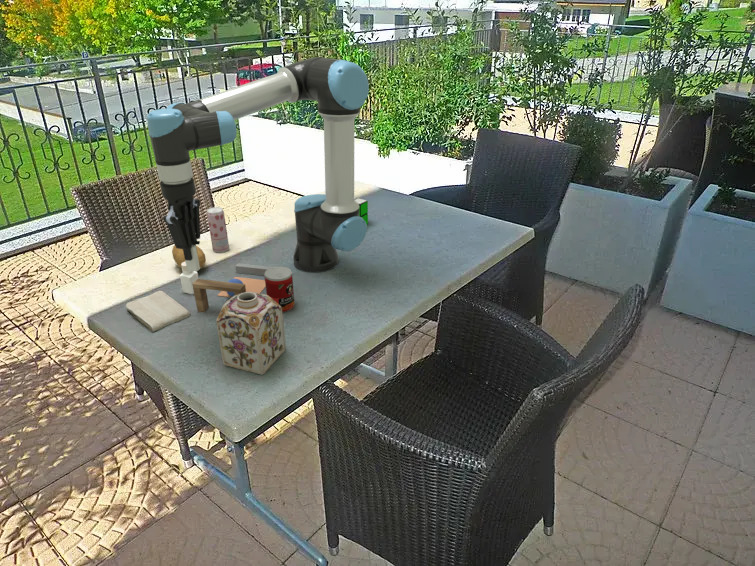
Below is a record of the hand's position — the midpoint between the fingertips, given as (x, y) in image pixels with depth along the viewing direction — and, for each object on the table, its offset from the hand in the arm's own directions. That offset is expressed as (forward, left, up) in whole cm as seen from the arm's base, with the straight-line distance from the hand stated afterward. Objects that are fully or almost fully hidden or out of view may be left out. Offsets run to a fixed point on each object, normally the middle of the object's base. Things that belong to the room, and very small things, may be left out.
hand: (193, 269), depth 137 cm
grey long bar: (0, -34, -19) cm, 39 cm away
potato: (+23, -33, -19) cm, 45 cm away
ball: (+1, -20, -16) cm, 26 cm away
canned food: (-15, -17, -19) cm, 30 cm away
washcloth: (+18, -6, -20) cm, 28 cm away
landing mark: (0, -24, -19) cm, 31 cm away
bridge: (0, -10, -19) cm, 22 cm away
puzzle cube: (-19, -79, -20) cm, 84 cm away
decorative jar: (-18, +8, -19) cm, 27 cm away
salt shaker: (+15, -19, -19) cm, 31 cm away
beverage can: (+20, -48, -19) cm, 56 cm away
